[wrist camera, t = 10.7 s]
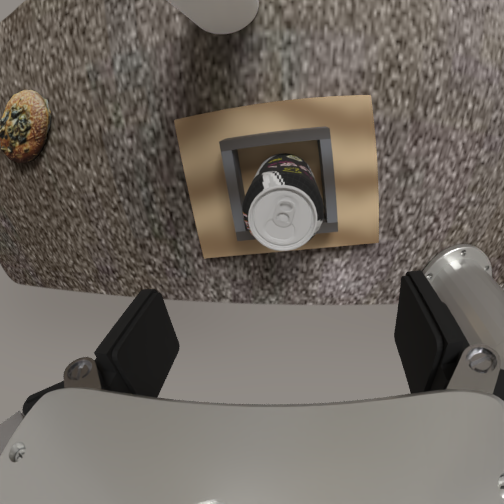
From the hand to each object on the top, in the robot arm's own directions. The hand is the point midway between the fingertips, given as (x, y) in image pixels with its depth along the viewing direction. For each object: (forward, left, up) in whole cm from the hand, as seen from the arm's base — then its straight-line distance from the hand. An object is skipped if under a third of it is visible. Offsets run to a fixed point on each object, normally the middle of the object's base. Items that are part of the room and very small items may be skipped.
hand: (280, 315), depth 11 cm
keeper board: (0, 0, -23) cm, 23 cm away
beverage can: (0, 0, -22) cm, 22 cm away
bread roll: (+15, +34, -23) cm, 44 cm away
